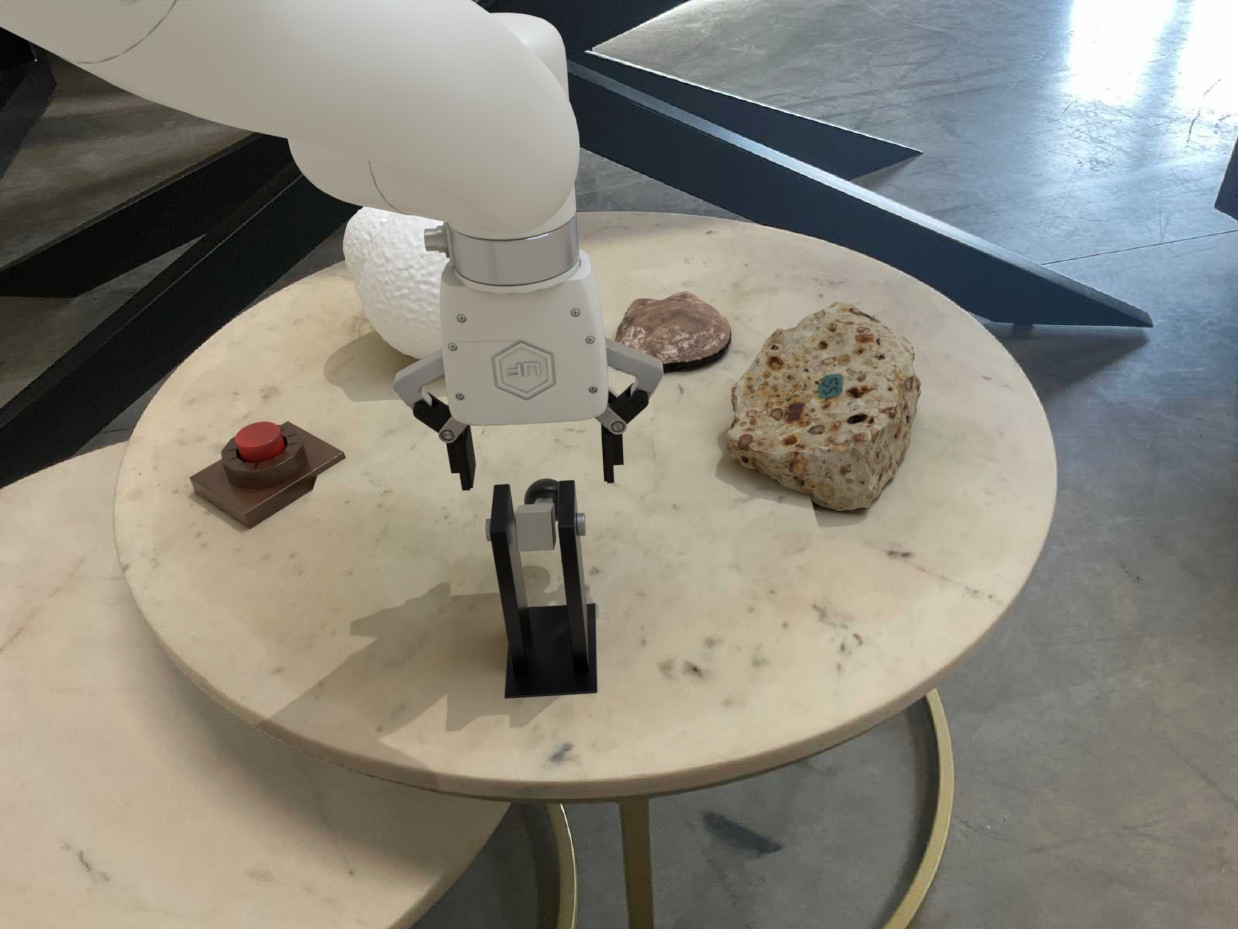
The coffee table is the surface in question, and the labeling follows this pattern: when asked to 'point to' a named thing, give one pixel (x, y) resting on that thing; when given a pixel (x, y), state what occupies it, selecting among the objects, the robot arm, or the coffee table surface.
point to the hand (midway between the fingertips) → (539, 474)
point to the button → (259, 442)
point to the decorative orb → (397, 278)
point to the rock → (827, 407)
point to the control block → (265, 476)
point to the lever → (538, 517)
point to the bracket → (544, 607)
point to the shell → (675, 330)
